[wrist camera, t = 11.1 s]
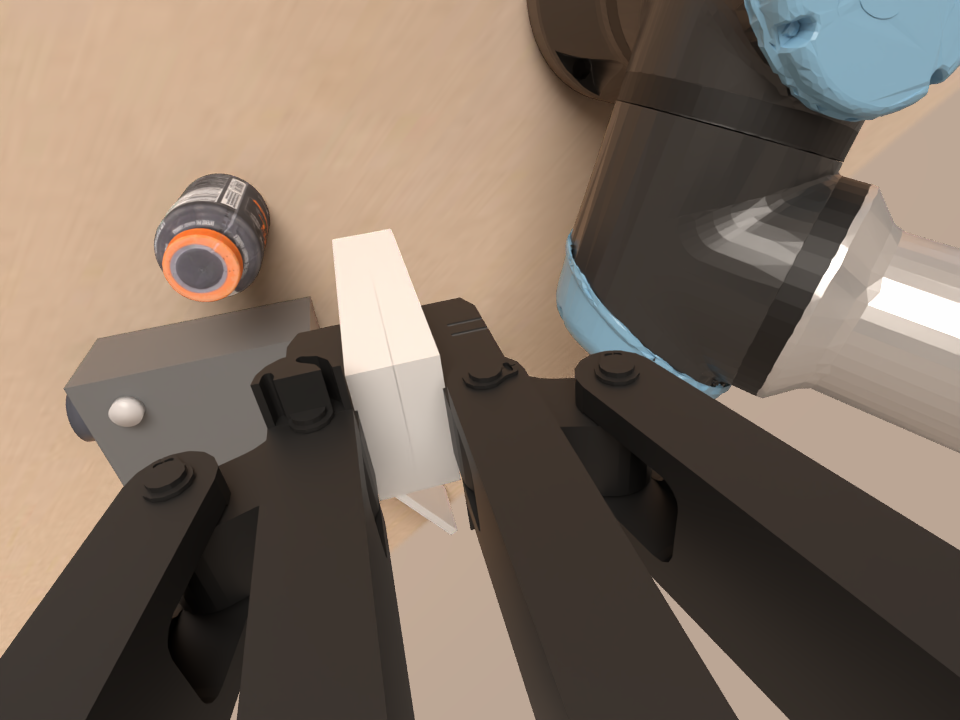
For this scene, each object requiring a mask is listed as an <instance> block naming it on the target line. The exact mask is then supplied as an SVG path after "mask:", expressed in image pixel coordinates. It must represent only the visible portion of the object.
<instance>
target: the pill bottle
mask: <svg viewBox="0 0 960 720" xmlns="http://www.w3.org/2000/svg"><path fill="white" fill-rule="evenodd" d="M269 225H270V217H269V211H268V208H267V205H266V203H265V201H264V200H263V198H262V196H261V195H260V194H259V192H258V191H257V190H256V189H255V188H254V187H253V186H252V185H250V184H249V183H247V182H246V181H244V180H242V179H240V178H238V177H235V176H232V175H228V174H210V175H206V176H203V177H201V178H198V179H197V180H195V181H194V182H192V183H191V184H190V185H189V186H188V187H187V188H186V190H185V191H184V192H183V194H182V195H181V196H180V198H179V199H178V200H177V201H176V202H175V204H174V205H173V206H172V207H171V208H170V209H169V211H168V212H167V214H166V215H165V217H164V219H163V220H162V221H161V223H160V225H159V226H158V228H157V231H156V234H155V239H154V250H155V256H156V259H157V262H158V264H159V266H160V268H161V270H162V271H163V273H164V275H165V278H166V279H167V281H168V283H169V284H170V285H171V286H172V288H173V289H174V290H175V291H177V292H178V293H179V294H181V295H182V296H184V297H186V298H189V299H191V300H195V301H200V302H213V301H217V300H220V299H223V298H225V297H229V296H232V295H235V294H237V293H239V292H241V291H243V290H244V289H246V288H247V287H248V286H249V285H250V284H251V283H252V282H253V281H254V280H255V278H256V277H257V275H258V273H259V270H260V268H261V264H262V259H263V255H264V249H265V245H266V240H267V235H268V230H269Z"/></svg>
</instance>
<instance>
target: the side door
mask: <svg viewBox="0 0 960 720" xmlns="http://www.w3.org/2000/svg"><path fill="white" fill-rule="evenodd" d="M396 498H397V499H398V500H400V501H401V502H403V503H404V504H406V505H407V506H409V507H410V508H412V509H413V510H415V511H416V512H418V513H419V514H421V515H422V516H424V517H425V518H427V519H428V520H430V521H431V522H433V523H434V524H436V525H437V526H438V527H440V528H442V529H443V530H444V531H446V532H447V533H449V534H450V535H452V534H453V533H455V532H456V531H457V527H456V523H455V520H454V516H453V513H452V509H451V506H450V502H449V499H448V495H447V492H446V488H445V487H444V486H443V485H439V486H435V487H431V488H428V489H424V490H420V491H416V492H412V493H408V494H405V495H401V496H397V497H396Z"/></svg>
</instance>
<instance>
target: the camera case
mask: <svg viewBox="0 0 960 720" xmlns="http://www.w3.org/2000/svg"><path fill="white" fill-rule="evenodd" d="M316 329H320V328H319V325H318V321H317V318H316V315H315V311H314V308H313V305H312V301H311V298H310V297H305V298H300V299H295V300H290V301H285V302H280V303H275V304H270V305H265V306H260V307H255V308H250V309H245V310H240V311H235V312H230V313H225V314H220V315H215V316H210V317H205V318H200V319H195V320H190V321H185V322H180V323H175V324H169V325H164V326H159V327H154V328H149V329H144V330H139V331H134V332H129V333H124V334H119V335H114V336H109V337H104V338H99V339H97V340H96V342H95V343H94V345H93V346H92V348H91V349H90V351H89V352H88V353H87V355H86V356H85V358H84V359H83V361H82V362H81V364H80V365H79V367H78V368H77V370H76V371H75V373H74V374H73V375H72V377H71V378H70V380H69V381H68V383H67V384H66V386H65V387H64V390H65V392H66V394H67V396H66V411H67V416H68V419H69V422H70V424H71V427H72V428H73V430H74V432H75V433H76V434H77V435H78V436H79V437H80V438H81V439H82V440H84V441H87V442H90V441H95V440H96V442H97V444H98V445H99V447H100V448H101V450H102V452H103V453H104V455H105V457H106V458H107V460H108V461H109V463H110V465H111V466H112V468H113V469H114V471H115V473H116V474H117V476H118V478H119V479H120V481H121V482H122V484H123V486H125V485H126V484H127V482H128V481H129V480H130V479H131V478H132V477H133V476H134V475H135V474H136V473H138V472H139V471H141V470H142V469H144V468H145V467H147V466H148V465H150V464H151V463H153V462H155V461H157V460H159V459H162V458H163V457H166V456H169V455H172V454H177V453H181V452H186V451H201V452H206V453H208V454H210V455H211V456H213V457H215V460H216V462H217V464H218V466H219V465H221V464H224V463H226V462H228V461H230V460H232V459H235V458H237V457H239V456H241V455H243V454H245V453H247V452H249V451H251V450H253V449H255V448H256V447H258V446H259V445H260V444H262V443H263V442H265V441H266V438H267V426H266V424H265V421H264V419H263V416H262V414H261V411H260V409H259V406H258V404H257V401H256V399H255V396H254V394H253V391H252V389H251V386H250V385H251V383H252V381H253V379H254V377H255V375H256V374H257V373H259V372H260V371H261V370H262V369H263V368H264V367H265V366H267V365H269V364H271V363H273V362H275V361H277V360H279V359H281V358H284V357H286V351H287V346H288V345H289V344H290V342H291V341H292V340H293V339H294V337H295V336H296V335H297V334H298V333H301V332H306V331H311V330H316Z"/></svg>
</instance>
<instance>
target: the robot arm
mask: <svg viewBox="0 0 960 720" xmlns="http://www.w3.org/2000/svg"><path fill="white" fill-rule="evenodd" d="M527 5H528V12H529V18H530V23H531V27H532V30H533V34H534V37H535V39H536V42H537V44H538V47H539V49H540V51H541V53H542V55H543V57H544V58H545V60H546V62H547V63H548V65H549V66H550V68H551V69H552V70H553V71H554V73H555V74H556V75H557V76H558V77H559V78H560V79H561V80H562V81H563V82H564V83H565V84H567V85H568V86H569V87H571V88H572V89H574V90H575V91H577V92H579V93H581V94H583V95H585V96H588V97H591V98H594V99H598V100H602V101H606V102H610V103H615V104H614V108H613V111H612V114H611V117H610V120H609V123H608V126H607V129H606V132H605V135H604V138H603V142H602V145H601V148H600V151H599V154H598V157H597V160H596V163H595V166H594V169H593V172H592V175H591V178H590V181H589V184H588V187H587V190H586V193H585V196H584V199H583V202H582V205H581V207H580V210H579V213H578V216H577V219H576V222H575V225H574V228H573V229H572V230H571V232H570V234H569V235H568V238H567V240H566V256H565V260H564V264H563V268H562V271H561V275H560V278H559V282H558V286H557V291H556V302H557V308H558V311H559V313H560V316H561V318H562V319H563V321H564V324H565V326H566V328H567V330H568V331H569V332H570V334H571V335H572V336H573V338H574V339H575V340H576V341H577V342H578V343H579V344H580V345H581V346H582V347H583V348H584V349H585V350H586V351H587V352H588V353H589V354H590V355H589V356H588V357H586V358H584V359H583V360H581V361H580V362H579V364H578V365H577V367H576V368H575V378H564V379H544V378H536V377H531V376H529V375H528V374H527V372H526V371H525V369H524V368H523V367H522V366H521V365H520V364H519V363H518V362H517V361H514V360H512V359H509V358H506V357H504V355H503V353H502V352H501V350H500V348H499V347H498V345H497V343H496V341H495V340H494V338H493V336H492V334H491V333H490V331H489V329H487V326H486V324H485V322H484V321H483V319H482V318H481V315H480V314H479V312H478V310H477V309H476V307H475V305H473V304H471V303H469V302H467V301H465V300H463V299H462V298H456V299H451V300H446V301H441V302H437V303H432V304H427V305H422V306H421V305H420V303H419V300H418V297H417V295H416V292H415V290H414V287H413V284H412V282H411V279H410V277H409V274H408V271H407V269H406V266H405V264H404V261H403V259H402V256H401V253H400V251H399V248H398V246H397V243H396V240H395V238H394V235H393V233H392V230H391V229H387V230H381V231H376V232H370V233H365V234H359V235H354V236H349V237H343V238H338V239H332V244H333V254H334V265H335V276H336V286H337V297H338V308H339V318H340V325H335V326H330V327H325V328H320V329H316V330H311V331H306V332H301V333H298V334H297V335H296V336H295V337H294V339H293V340H292V341H291V342H290V344H289V345H288V346H287V351H286V357H284V358H281V359H279V360H277V361H275V362H273V363H271V364H269V365H267V366H265V367H264V368H263V369H262V370H261V371H260V372H259V373H257V374H256V375H255V377H254V379H253V381H252V383H251V385H250V386H251V389H252V391H253V394H254V396H255V399H256V401H257V404H258V406H259V409H260V411H261V414H262V416H263V419H264V421H265V424H266V426H267V438H266V441H265V442H263V443H262V444H260V445H259V446H258V447H256V448H255V449H253V450H251V451H249V452H247V453H245V454H243V455H241V456H239V457H237V458H235V459H232V460H230V461H228V462H226V463H224V464H221V465H219V466H218V464H217V462H216V460H215V457H213V456H211V455H210V454H208V453H206V452H201V451H186V452H181V453H177V454H172V455H169V456H166V457H163V458H162V459H159V460H157V461H155V462H153V463H151V464H150V465H148V466H147V467H145V468H144V469H142V470H141V471H139V472H138V473H136V474H135V475H134V476H133V477H132V478H131V479H130V480H129V481H128V482H127V484H126V485H125V486H124V487H123V488H122V489H121V491H120V492H119V494H118V495H117V496H116V498H115V499H114V501H113V502H112V503H111V505H110V506H109V508H108V509H107V510H106V512H105V513H104V515H103V516H102V517H101V519H100V520H99V522H98V523H97V524H96V526H95V527H94V529H93V530H92V531H91V533H90V534H89V535H88V537H87V538H86V540H85V541H84V542H83V544H82V545H81V547H80V548H79V549H78V551H77V552H76V554H75V555H74V556H73V558H72V559H71V561H70V562H69V563H68V565H67V566H66V568H65V569H64V570H63V572H62V573H61V575H60V576H59V577H58V579H57V580H56V582H55V583H54V584H53V586H52V587H51V588H50V590H49V591H48V593H47V594H46V595H45V597H44V598H43V600H42V601H41V602H40V604H39V605H38V607H37V608H36V609H35V611H34V612H33V614H32V615H31V616H30V618H29V619H28V621H27V622H26V623H25V625H24V626H23V628H22V629H21V630H20V632H19V633H18V635H17V636H16V637H15V639H14V640H13V641H12V643H11V644H10V646H9V647H8V648H7V650H6V651H5V653H4V654H3V655H2V657H1V658H0V720H230V718H231V715H232V712H233V709H234V706H235V703H236V700H237V697H238V694H239V691H240V695H239V704H238V714H237V720H415V719H414V712H413V705H412V698H411V692H410V685H409V679H408V672H407V665H406V658H405V652H404V645H403V638H402V632H401V625H400V618H399V612H398V606H397V599H396V592H395V585H394V579H393V572H392V566H391V559H390V552H389V545H388V539H387V532H386V526H385V521H384V517H383V514H382V510H381V507H380V503H379V499H380V501H382V500H385V499H389V498H393V497H397V496H401V495H405V494H408V493H412V492H416V491H420V490H424V489H428V488H431V487H435V486H439V485H443V484H447V483H450V482H454V481H458V480H461V479H460V473H461V476H462V480H463V486H464V492H465V498H466V504H467V510H468V516H469V522H470V528H471V530H473V529H475V530H476V534H477V537H478V540H479V543H480V546H481V550H482V553H483V556H484V559H485V562H486V565H487V568H488V571H489V575H490V578H491V581H492V584H493V587H494V590H495V593H496V597H497V599H498V603H499V605H500V609H501V612H502V615H503V619H504V621H505V625H506V628H507V631H508V634H509V637H510V640H511V644H512V647H513V650H514V653H515V656H516V659H517V662H518V665H519V669H520V672H521V675H522V678H523V681H524V684H525V688H526V691H527V694H528V697H529V700H530V703H531V706H532V709H533V712H534V716H535V719H536V720H738V718H737V716H736V715H735V713H734V712H733V710H732V708H731V706H730V705H729V704H728V702H727V700H726V699H725V697H724V695H723V694H722V692H721V690H720V688H719V687H718V685H717V684H716V682H715V680H714V679H713V677H712V675H711V674H710V672H709V670H708V669H707V667H706V665H705V664H704V662H703V661H702V659H701V657H700V656H699V654H698V652H697V651H696V649H695V648H694V646H693V644H692V643H691V641H690V639H689V638H688V636H687V634H686V633H685V631H684V629H683V628H682V626H681V625H680V623H679V621H678V620H677V618H676V616H675V615H674V613H673V611H672V610H671V608H670V607H669V605H668V603H667V602H666V600H665V598H664V597H663V595H662V593H661V592H660V590H659V588H658V587H657V585H656V584H655V582H654V580H653V579H652V577H653V578H654V579H655V580H656V581H657V583H659V585H660V586H661V587H662V588H663V589H664V590H665V591H666V592H667V593H668V594H669V595H670V596H671V597H672V598H673V599H674V600H675V601H676V602H677V603H678V604H679V605H680V606H681V607H682V608H683V609H684V611H685V612H686V613H687V614H688V615H689V616H690V617H691V618H692V619H693V620H694V621H695V622H696V623H697V624H698V625H699V626H700V627H701V628H702V629H703V630H704V631H705V632H706V633H707V634H708V635H709V636H710V638H711V639H712V640H713V641H714V642H715V643H716V644H717V645H718V646H719V647H720V648H721V649H722V650H723V651H724V652H725V653H726V654H727V655H728V656H729V657H730V658H731V659H732V660H733V661H734V662H735V663H736V664H737V666H739V668H740V669H741V670H742V671H743V672H744V673H745V674H746V675H747V676H748V677H749V678H750V679H751V680H752V681H753V682H754V683H755V684H756V685H757V686H758V687H759V688H760V689H761V690H762V691H763V693H765V695H766V696H767V697H768V698H769V699H770V700H771V701H772V702H773V703H774V704H775V705H776V706H777V707H778V708H779V709H780V710H781V711H782V712H783V713H784V714H785V715H786V716H787V717H788V718H789V719H790V720H960V550H958V549H956V548H955V547H954V546H952V545H950V544H949V543H947V542H945V541H944V540H942V539H941V538H939V537H937V536H936V535H934V534H932V533H931V532H929V531H928V530H926V529H924V528H923V527H921V526H919V525H918V524H916V523H914V522H913V521H911V520H910V519H908V518H906V517H905V516H903V515H902V514H900V513H898V512H896V511H895V510H893V509H892V508H890V507H889V506H887V505H885V504H884V503H882V502H880V501H879V500H877V499H876V498H874V497H872V496H870V495H869V494H867V493H866V492H864V491H863V490H861V489H859V488H857V487H856V486H854V485H853V484H851V483H850V482H848V481H846V480H845V479H843V478H841V477H840V476H838V475H836V474H835V473H833V472H832V471H830V470H828V469H827V468H825V467H824V466H822V465H820V464H819V463H817V462H815V461H814V460H812V459H811V458H809V457H807V456H806V455H804V454H803V453H801V452H799V451H798V450H796V449H794V448H793V447H791V446H790V445H788V444H786V443H785V442H783V441H781V440H780V439H778V438H777V437H775V436H773V435H772V434H770V433H768V432H767V431H765V430H764V429H762V428H760V427H759V426H757V425H755V424H754V423H752V422H751V421H749V420H747V419H746V418H744V417H742V416H741V415H739V414H737V413H736V412H734V411H733V410H731V409H729V408H728V407H726V406H725V405H723V404H721V403H720V402H718V401H716V400H715V399H716V398H717V397H719V396H720V395H721V394H722V393H725V392H726V391H728V390H729V388H730V387H731V385H733V386H735V387H738V388H740V389H742V390H745V391H746V392H749V393H751V394H753V395H755V396H758V397H761V398H765V397H769V396H772V395H776V394H780V393H783V392H787V391H791V390H794V389H801V388H812V389H814V390H816V391H818V392H821V393H823V394H825V395H827V396H830V397H832V398H834V399H837V400H839V401H841V402H843V403H846V404H848V405H850V406H853V407H855V408H857V409H860V410H862V411H864V412H866V413H869V414H871V415H874V416H876V417H878V418H880V419H883V420H885V421H887V422H889V423H892V424H894V425H897V426H899V427H901V428H903V429H906V430H908V431H910V432H913V433H915V434H917V435H919V436H922V437H924V438H926V439H929V440H931V441H933V442H936V443H938V444H940V445H942V446H945V447H947V448H949V449H952V450H954V451H956V452H959V453H960V248H956V247H953V246H950V245H947V244H944V243H940V242H937V241H934V240H931V239H927V238H924V237H921V236H917V235H914V234H911V233H908V232H905V231H904V230H902V229H901V228H899V227H898V226H897V225H896V224H895V223H894V221H893V219H892V217H891V214H890V212H889V210H888V208H887V206H886V203H885V201H884V198H883V196H882V194H881V192H880V189H879V187H878V186H875V185H873V184H868V183H864V182H861V181H857V180H853V179H850V178H846V177H843V176H841V175H840V174H839V170H840V168H841V165H842V162H844V159H845V157H846V155H847V153H848V152H849V150H850V148H851V146H852V144H853V142H854V140H855V138H856V136H857V134H858V133H859V131H860V129H861V127H862V125H863V123H864V121H865V120H873V119H875V118H877V117H879V116H881V117H882V116H884V115H888V114H891V113H894V112H896V111H899V110H902V109H904V108H906V107H908V106H910V105H912V104H914V103H916V102H917V101H919V100H920V99H921V98H923V97H924V96H925V95H926V94H927V92H928V88H929V85H931V84H938V83H941V82H943V81H945V80H946V79H947V78H948V77H949V76H950V75H951V74H952V73H953V72H954V71H955V70H956V69H957V68H958V66H959V65H960V0H527ZM839 161H841V162H839ZM459 470H460V473H459ZM378 495H379V497H378ZM651 576H652V577H651Z"/></svg>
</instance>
